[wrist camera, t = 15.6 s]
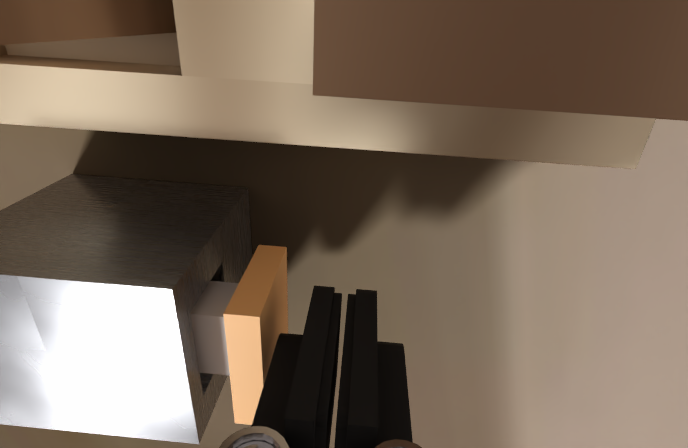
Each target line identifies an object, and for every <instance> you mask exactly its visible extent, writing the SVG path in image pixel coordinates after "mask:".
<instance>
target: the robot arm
mask: <svg viewBox="0 0 688 448" xmlns="http://www.w3.org/2000/svg"><path fill="white" fill-rule="evenodd" d="M334 291H335V288H334V287H324V286H314V289H313V293H312V298H311V302H310V307H309V311H308V316H307V320H306V324H305V329H304V333H303V335H297V334H286V333H280V334H279V337H278V339H277V343H276V346H275V349H274V353H273V356H272V359H271V363H270V366H269V369H268V373H267V376H266V379H265V383H264V386H263V389H262V393H261V396H260V399H259V403H258V406H257V409H256V413H255V416H254V419H253V423H252V426H251V427H247V428H243V429H241V430H239V431H237V432H235V433H233V434H232V435H231V436H229V437H228V438H227V439H226V440H225V441H224V442H223V443H222V444H221V446H220V447H219V448H329V444H330V435H331V425H332V415H333V406H334V396H335V387H336V377H337V364H338V348H339V333H340V317H341V301H342V293H334ZM335 448H421V447H420V446H419V445H417V444H415V443H413V442H412V431H411V420H410V409H409V398H408V387H407V376H406V365H405V354H404V346H403V344H400V343H389V342H377V291H372V290H360V289H357V290H356V295H355V294H348V301H347V312H346V323H345V334H344V345H343V355H342V366H341V377H340V388H339V399H338V409H337V421H336V434H335Z"/></svg>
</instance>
